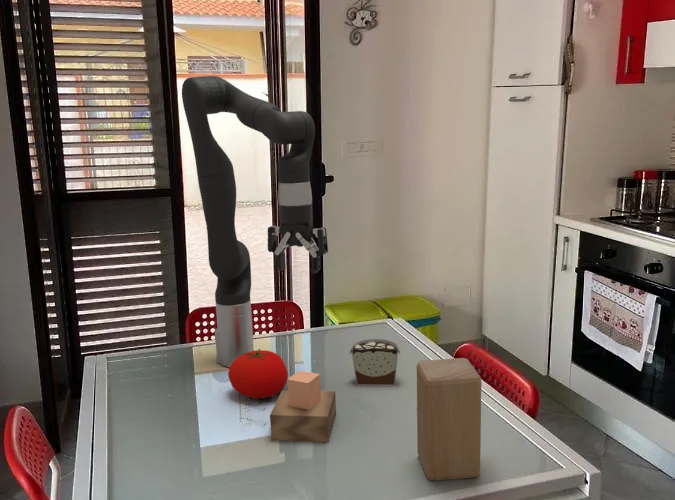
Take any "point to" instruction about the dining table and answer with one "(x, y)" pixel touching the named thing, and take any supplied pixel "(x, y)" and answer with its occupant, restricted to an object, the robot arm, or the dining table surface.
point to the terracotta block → (304, 390)
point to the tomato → (258, 374)
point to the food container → (375, 362)
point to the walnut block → (303, 419)
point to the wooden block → (448, 418)
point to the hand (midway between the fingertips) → (298, 271)
